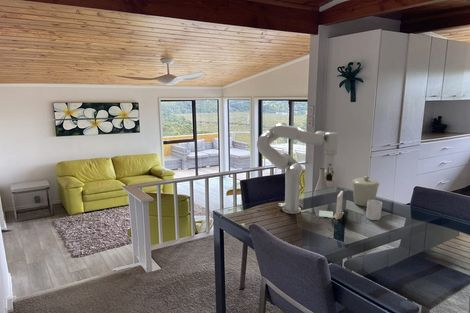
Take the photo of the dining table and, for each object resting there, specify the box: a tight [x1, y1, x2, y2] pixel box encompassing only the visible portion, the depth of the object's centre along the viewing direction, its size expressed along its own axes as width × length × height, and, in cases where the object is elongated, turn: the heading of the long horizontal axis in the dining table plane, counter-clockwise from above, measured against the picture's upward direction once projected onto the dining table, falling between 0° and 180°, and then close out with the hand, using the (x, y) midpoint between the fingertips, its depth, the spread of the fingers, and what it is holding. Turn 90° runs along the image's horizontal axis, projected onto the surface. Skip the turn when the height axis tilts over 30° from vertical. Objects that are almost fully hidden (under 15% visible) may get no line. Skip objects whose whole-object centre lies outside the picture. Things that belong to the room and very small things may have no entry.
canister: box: [351, 175, 380, 208], centre depth 238 cm, size 18×18×21 cm
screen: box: [332, 190, 345, 220], centre depth 219 cm, size 4×11×16 cm, turn 150°
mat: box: [318, 209, 334, 219], centre depth 223 cm, size 9×9×1 cm
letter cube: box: [323, 169, 335, 183], centre depth 216 cm, size 6×6×6 cm
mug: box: [365, 199, 383, 221], centre depth 218 cm, size 12×9×11 cm
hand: (329, 178), depth 216 cm, fingers closed on letter cube, 6 cm apart
